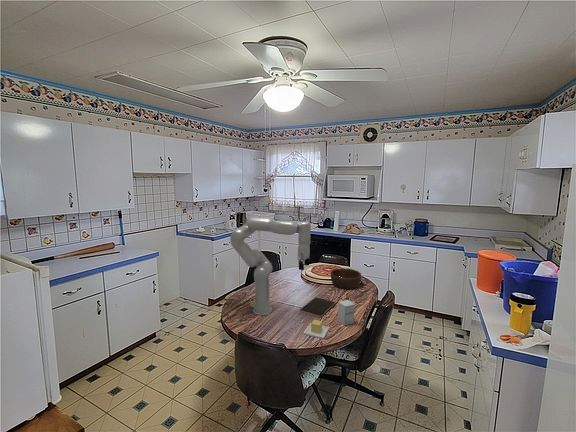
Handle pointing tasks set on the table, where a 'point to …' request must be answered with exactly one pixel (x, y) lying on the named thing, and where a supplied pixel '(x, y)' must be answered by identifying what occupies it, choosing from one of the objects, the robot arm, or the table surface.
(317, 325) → the ochre cube
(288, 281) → the table surface
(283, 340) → the table surface
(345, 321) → the supplement box
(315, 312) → the hardcover book
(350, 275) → the wooden bowl
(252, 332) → the table surface
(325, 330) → the mat
